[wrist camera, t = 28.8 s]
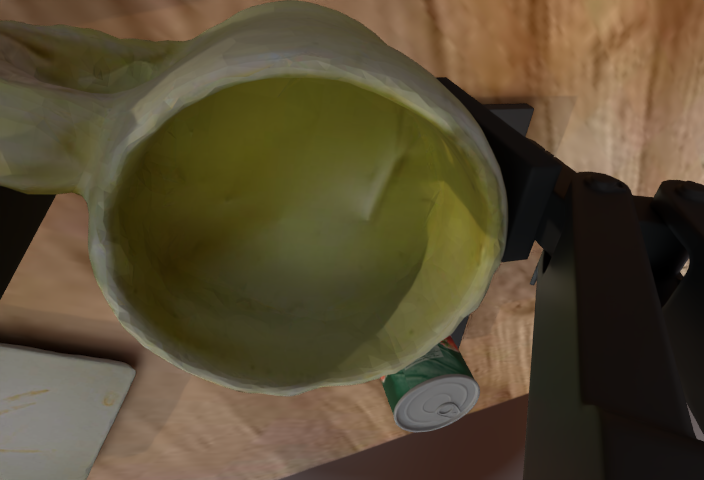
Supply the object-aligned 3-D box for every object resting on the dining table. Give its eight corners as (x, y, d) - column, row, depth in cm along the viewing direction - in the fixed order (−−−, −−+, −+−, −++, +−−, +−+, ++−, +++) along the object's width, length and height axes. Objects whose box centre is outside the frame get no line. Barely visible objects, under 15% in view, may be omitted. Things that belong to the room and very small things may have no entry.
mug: (528, 108, 16) (622, 347, 8) (333, 243, 21) (288, 458, 14) (251, -244, 11) (-109, -408, 3) (89, 53, 16) (-181, 235, 9)
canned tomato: (345, 321, 46) (376, 417, 37) (404, 274, 44) (450, 365, 35) (390, 349, 50) (427, 440, 42) (445, 308, 48) (495, 395, 40)
